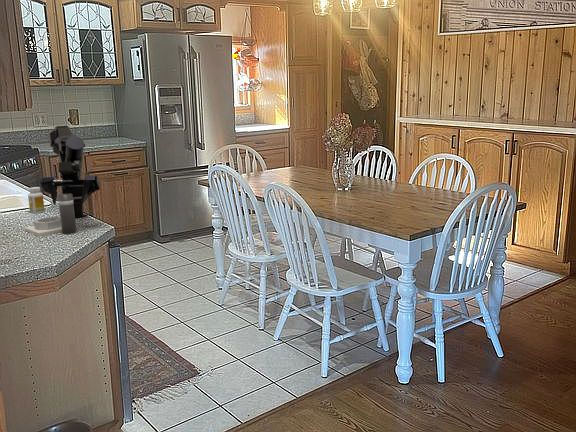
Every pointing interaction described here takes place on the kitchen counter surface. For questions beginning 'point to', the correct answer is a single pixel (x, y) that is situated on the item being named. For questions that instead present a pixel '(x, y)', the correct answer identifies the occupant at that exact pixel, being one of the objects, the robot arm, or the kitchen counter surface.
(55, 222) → the collar mount
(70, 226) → the dark grey capped cylinder
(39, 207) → the supplement bottle
